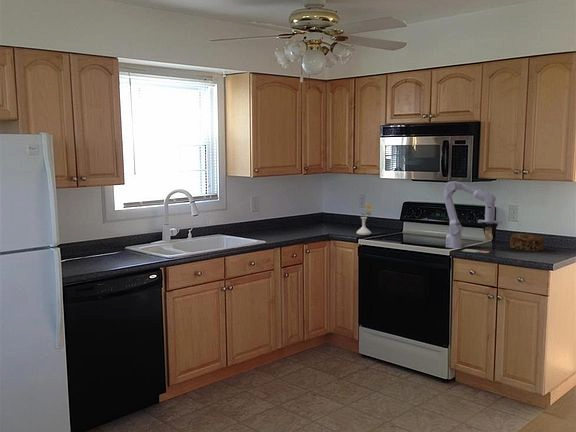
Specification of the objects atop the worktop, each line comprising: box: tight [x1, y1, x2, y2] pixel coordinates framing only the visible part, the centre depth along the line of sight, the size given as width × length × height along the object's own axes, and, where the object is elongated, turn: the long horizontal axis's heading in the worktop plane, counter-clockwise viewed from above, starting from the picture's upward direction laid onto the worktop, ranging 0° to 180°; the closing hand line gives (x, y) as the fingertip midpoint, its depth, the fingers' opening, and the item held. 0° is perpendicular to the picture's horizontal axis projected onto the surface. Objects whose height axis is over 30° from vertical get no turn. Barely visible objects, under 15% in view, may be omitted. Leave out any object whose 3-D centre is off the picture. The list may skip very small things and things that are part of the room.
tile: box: [477, 250, 490, 254], centre depth 350 cm, size 6×1×7 cm
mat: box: [461, 248, 481, 253], centre depth 355 cm, size 9×9×1 cm
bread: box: [509, 232, 545, 252], centre depth 362 cm, size 19×11×10 cm, turn 44°
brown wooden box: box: [484, 226, 494, 241], centre depth 356 cm, size 4×2×8 cm, turn 52°
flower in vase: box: [356, 202, 374, 236], centre depth 427 cm, size 13×11×25 cm
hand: (489, 234), depth 357 cm, fingers closed on brown wooden box, 4 cm apart
